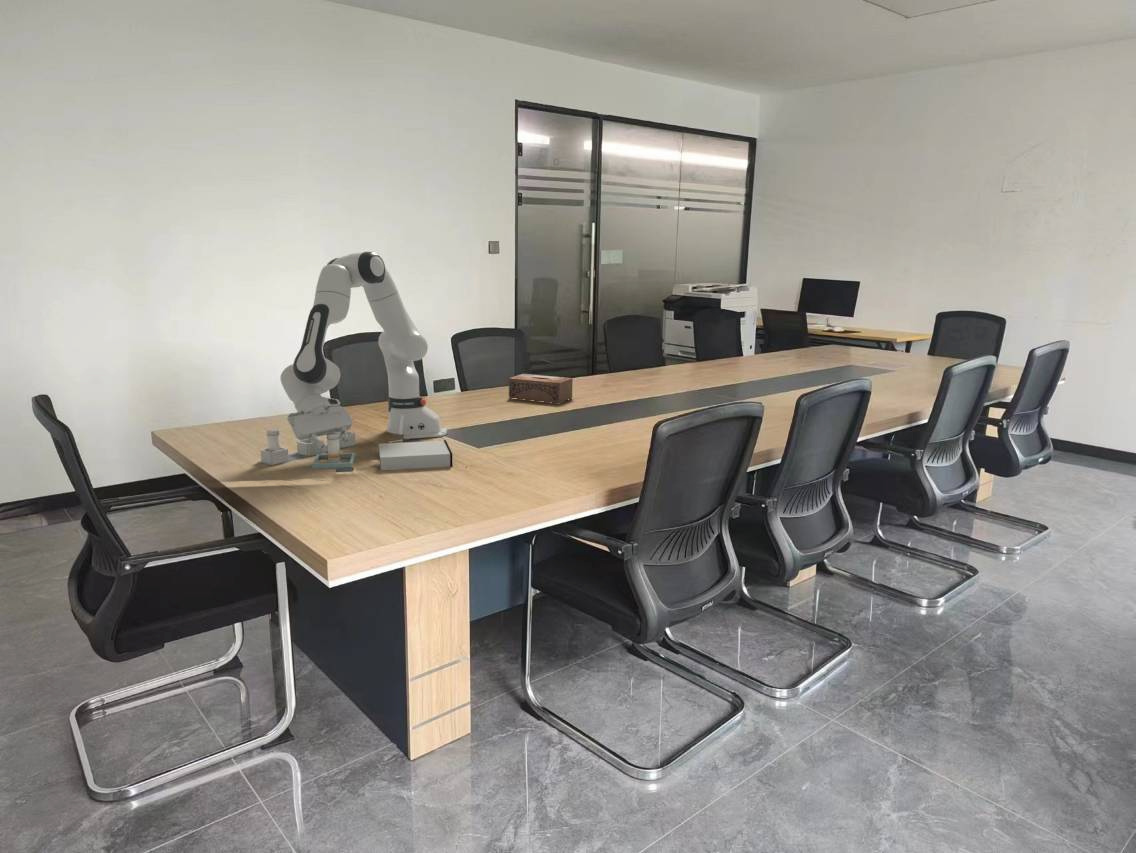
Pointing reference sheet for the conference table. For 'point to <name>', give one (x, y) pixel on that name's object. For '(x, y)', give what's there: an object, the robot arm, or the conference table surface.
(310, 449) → the fuse holder
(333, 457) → the marked fuse
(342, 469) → the tray
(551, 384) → the tissue box cover
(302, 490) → the conference table surface
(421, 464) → the disc drive
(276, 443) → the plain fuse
